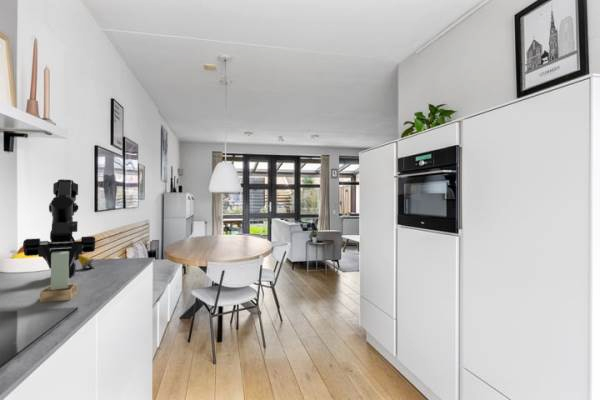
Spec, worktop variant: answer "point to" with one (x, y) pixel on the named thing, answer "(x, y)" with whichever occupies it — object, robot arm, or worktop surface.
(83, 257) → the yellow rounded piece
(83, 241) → the robot arm
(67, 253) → the post
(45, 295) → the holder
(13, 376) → the worktop surface
